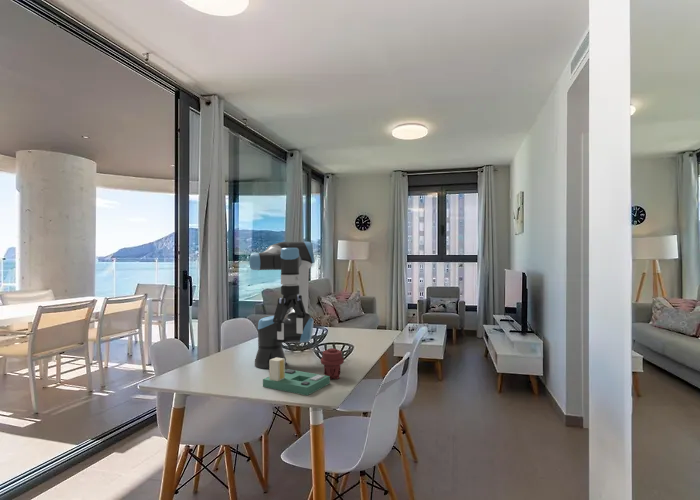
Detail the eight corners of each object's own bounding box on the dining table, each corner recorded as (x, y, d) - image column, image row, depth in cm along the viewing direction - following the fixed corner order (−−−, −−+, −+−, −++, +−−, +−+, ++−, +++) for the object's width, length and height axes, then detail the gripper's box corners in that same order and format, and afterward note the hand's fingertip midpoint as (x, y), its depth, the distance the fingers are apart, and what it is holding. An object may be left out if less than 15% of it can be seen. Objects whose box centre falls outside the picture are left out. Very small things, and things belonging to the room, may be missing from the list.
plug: (269, 379, 161) (269, 359, 161) (276, 376, 165) (276, 357, 165) (278, 381, 158) (278, 361, 158) (285, 378, 162) (285, 358, 162)
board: (262, 386, 161) (262, 377, 161) (287, 375, 175) (287, 367, 175) (307, 395, 151) (307, 386, 151) (329, 383, 165) (329, 374, 165)
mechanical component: (320, 381, 167) (320, 374, 177) (344, 381, 168) (343, 373, 178) (320, 352, 167) (320, 346, 177) (344, 351, 168) (342, 346, 178)
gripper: (279, 287, 152) (279, 343, 151) (313, 283, 174) (314, 331, 174) (263, 286, 155) (263, 341, 155) (299, 282, 177) (299, 330, 177)
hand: (290, 336), depth 164 cm, fingers open, 13 cm apart
